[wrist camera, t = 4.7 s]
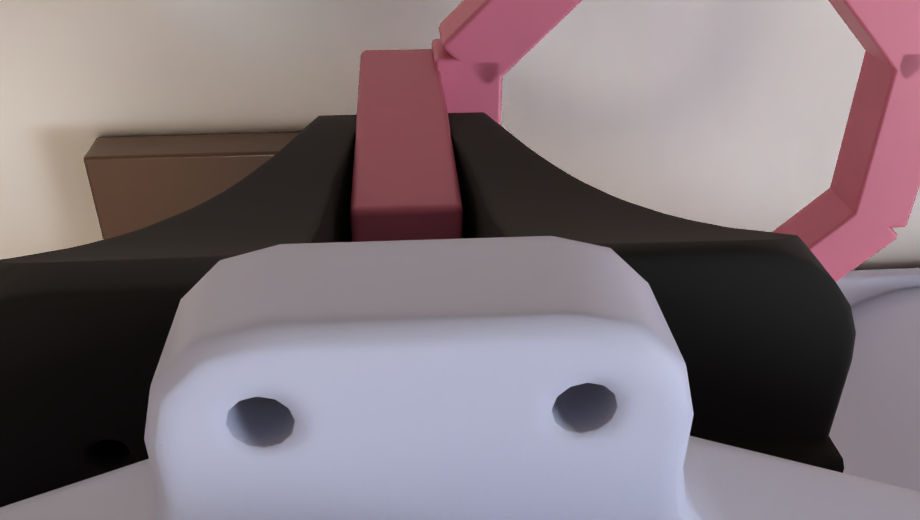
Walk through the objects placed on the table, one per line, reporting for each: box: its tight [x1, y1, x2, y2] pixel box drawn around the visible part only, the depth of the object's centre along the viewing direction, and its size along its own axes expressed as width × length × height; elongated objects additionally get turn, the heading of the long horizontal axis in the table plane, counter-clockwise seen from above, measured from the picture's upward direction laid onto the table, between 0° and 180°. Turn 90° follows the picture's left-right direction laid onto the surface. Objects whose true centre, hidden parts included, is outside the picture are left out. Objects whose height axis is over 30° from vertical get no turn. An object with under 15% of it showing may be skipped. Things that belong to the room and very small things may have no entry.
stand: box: [84, 132, 300, 240], centre depth 21 cm, size 9×9×5 cm
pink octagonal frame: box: [350, 0, 920, 282], centre depth 12 cm, size 9×8×5 cm
